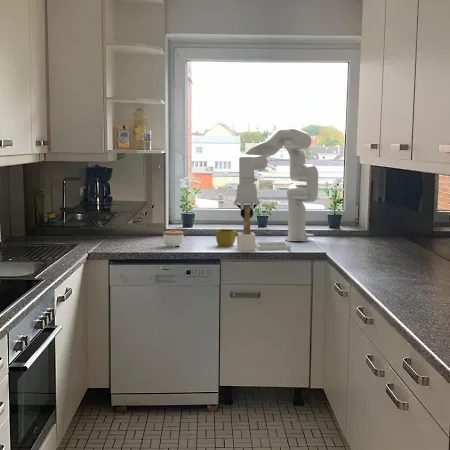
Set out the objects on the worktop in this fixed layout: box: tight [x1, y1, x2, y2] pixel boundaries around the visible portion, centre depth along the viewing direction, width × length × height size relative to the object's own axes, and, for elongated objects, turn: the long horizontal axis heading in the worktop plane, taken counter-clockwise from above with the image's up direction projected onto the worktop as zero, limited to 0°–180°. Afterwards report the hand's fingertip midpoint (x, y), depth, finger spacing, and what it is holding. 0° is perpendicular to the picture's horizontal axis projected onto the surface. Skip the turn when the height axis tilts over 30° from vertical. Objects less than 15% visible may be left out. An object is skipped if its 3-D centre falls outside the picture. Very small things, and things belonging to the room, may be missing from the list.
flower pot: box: [215, 228, 237, 248], centre depth 332 cm, size 9×9×9 cm
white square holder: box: [236, 231, 256, 252], centre depth 321 cm, size 8×8×9 cm
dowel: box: [243, 204, 251, 234], centre depth 320 cm, size 3×3×16 cm
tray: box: [255, 241, 292, 252], centre depth 327 cm, size 16×14×3 cm
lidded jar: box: [162, 228, 185, 248], centre depth 335 cm, size 11×11×9 cm
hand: (246, 217), depth 320 cm, fingers closed on dowel, 3 cm apart
